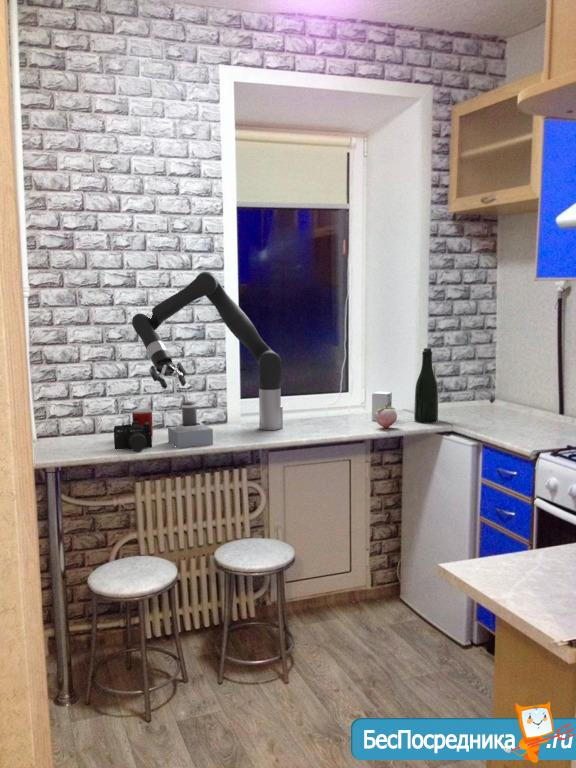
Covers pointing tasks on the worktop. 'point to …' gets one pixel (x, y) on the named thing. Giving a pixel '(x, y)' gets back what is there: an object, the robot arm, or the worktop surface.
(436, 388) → the dark green wine bottle
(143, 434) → the camera
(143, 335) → the robot arm
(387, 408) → the decorative fruit
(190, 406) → the lens
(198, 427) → the low grey box
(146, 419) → the canned food
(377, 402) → the supplement box
